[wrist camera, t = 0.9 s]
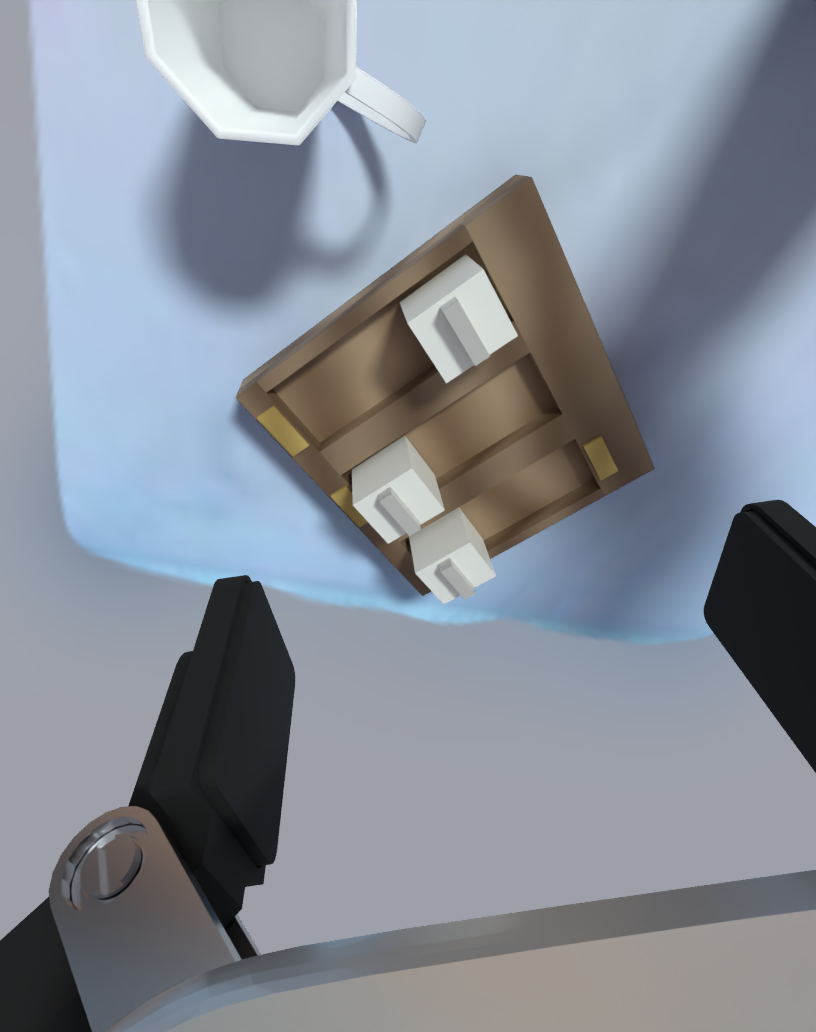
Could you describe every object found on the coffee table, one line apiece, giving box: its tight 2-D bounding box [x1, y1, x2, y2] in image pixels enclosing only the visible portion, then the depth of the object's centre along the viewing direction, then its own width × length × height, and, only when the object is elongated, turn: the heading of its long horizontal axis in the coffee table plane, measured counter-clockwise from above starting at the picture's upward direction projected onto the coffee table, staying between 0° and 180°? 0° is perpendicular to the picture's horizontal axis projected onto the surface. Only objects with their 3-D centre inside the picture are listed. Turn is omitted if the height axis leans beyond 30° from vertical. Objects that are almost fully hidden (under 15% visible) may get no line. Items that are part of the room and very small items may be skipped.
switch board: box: [236, 175, 655, 596], centre depth 32 cm, size 18×19×3 cm
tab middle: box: [352, 435, 445, 544], centre depth 31 cm, size 4×4×5 cm
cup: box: [136, 0, 426, 145], centre depth 19 cm, size 7×10×8 cm
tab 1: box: [400, 254, 518, 383], centre depth 25 cm, size 4×4×5 cm
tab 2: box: [409, 507, 496, 604], centre depth 34 cm, size 4×4×5 cm
